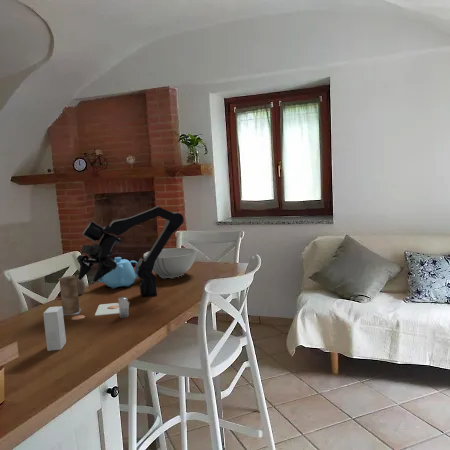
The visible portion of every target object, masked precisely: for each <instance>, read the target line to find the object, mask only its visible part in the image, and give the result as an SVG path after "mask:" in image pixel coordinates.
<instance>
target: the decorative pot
mask: <svg viewBox="0 0 450 450" xmlns="http://www.w3.org/2000/svg"><path fill="white" fill-rule="evenodd" d="M113 260H114V261H115V262H116V263H117V267H116V269H115V270H112V271H110V272H109V273H107V274H106V275H104V276H103V277H101V278H100V279H99V280H97V282H99V283H104V284H105V286H106V287H108V288H109V287H110V288H111V289H113V290H114V289H117V288H118V287H127V288H128V287H131V285H132V284H134V283H135V281H136V280H137V279H138V278H140V277H139V276H138V275H137V274H136V271H135V268H134V266H133V265H132V264H133V263H134V264H135V265H136V264H137V263H138V262H137V261H136V260H130V261H129V260H128V259H125V258H124V259H122V257H121V256H117V257H116V256H115V257H114V259H113Z"/></svg>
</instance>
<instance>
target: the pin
mask: <svg viewBox="0 0 450 450" xmlns="http://www.w3.org/2000/svg"><path fill="white" fill-rule="evenodd" d="M128 302H129V300H128V297H127V296H121V297H118V303H119V313H120V314H119V317H120V318H122V319H124V318H128V317H129V315H130V314H129V308H128Z"/></svg>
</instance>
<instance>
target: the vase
mask: <svg viewBox="0 0 450 450" xmlns="http://www.w3.org/2000/svg"><path fill="white" fill-rule="evenodd" d="M72 276H74V277H77V278H78V277H79V274H73V275H72ZM85 288H86V284H85V281H84V280H83V278H82V279H81V280H79V279H77V289H78V296H81V295H82V294H83V293H84V292H85V291H86V290H85Z"/></svg>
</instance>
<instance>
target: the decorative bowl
mask: <svg viewBox="0 0 450 450" xmlns="http://www.w3.org/2000/svg"><path fill="white" fill-rule="evenodd" d="M197 251H198V250H197V249H195V248H189V247H172V248H171V247H170V248H163V249H162V251H161V253H160V254H159V256H158V258H157V259H156V261H155V264H154V268H153V270H152V273H154V274H155V275H159V278H160V277H161V279H166V278H170V279H175V278H174V277H178V278H180V277H179V276H181V277H183V276H184V275H185V273H187V272H188V271H189V270H190V268H191V267H192V266H193V264H194V262H195V260H196V257H197ZM149 252H150V250H149V251H146V252H145V253H143V259H144V258H145V257H146V256H147V255H148V253H149ZM182 275H183V276H182Z"/></svg>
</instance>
